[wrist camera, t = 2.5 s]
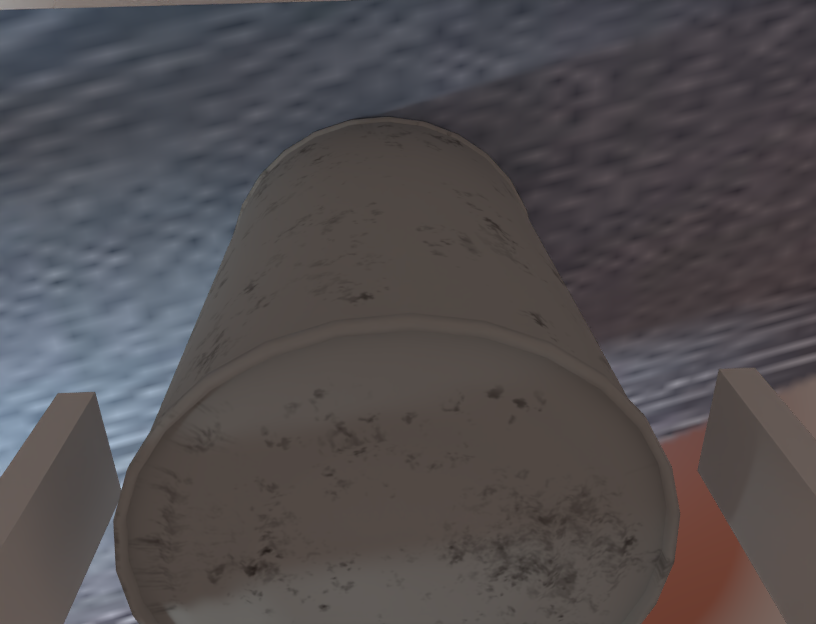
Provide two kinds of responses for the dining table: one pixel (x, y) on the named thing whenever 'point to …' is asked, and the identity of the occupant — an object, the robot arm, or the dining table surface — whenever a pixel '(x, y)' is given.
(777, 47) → the dining table surface
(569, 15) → the dining table surface
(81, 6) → the carrier plate
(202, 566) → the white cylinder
